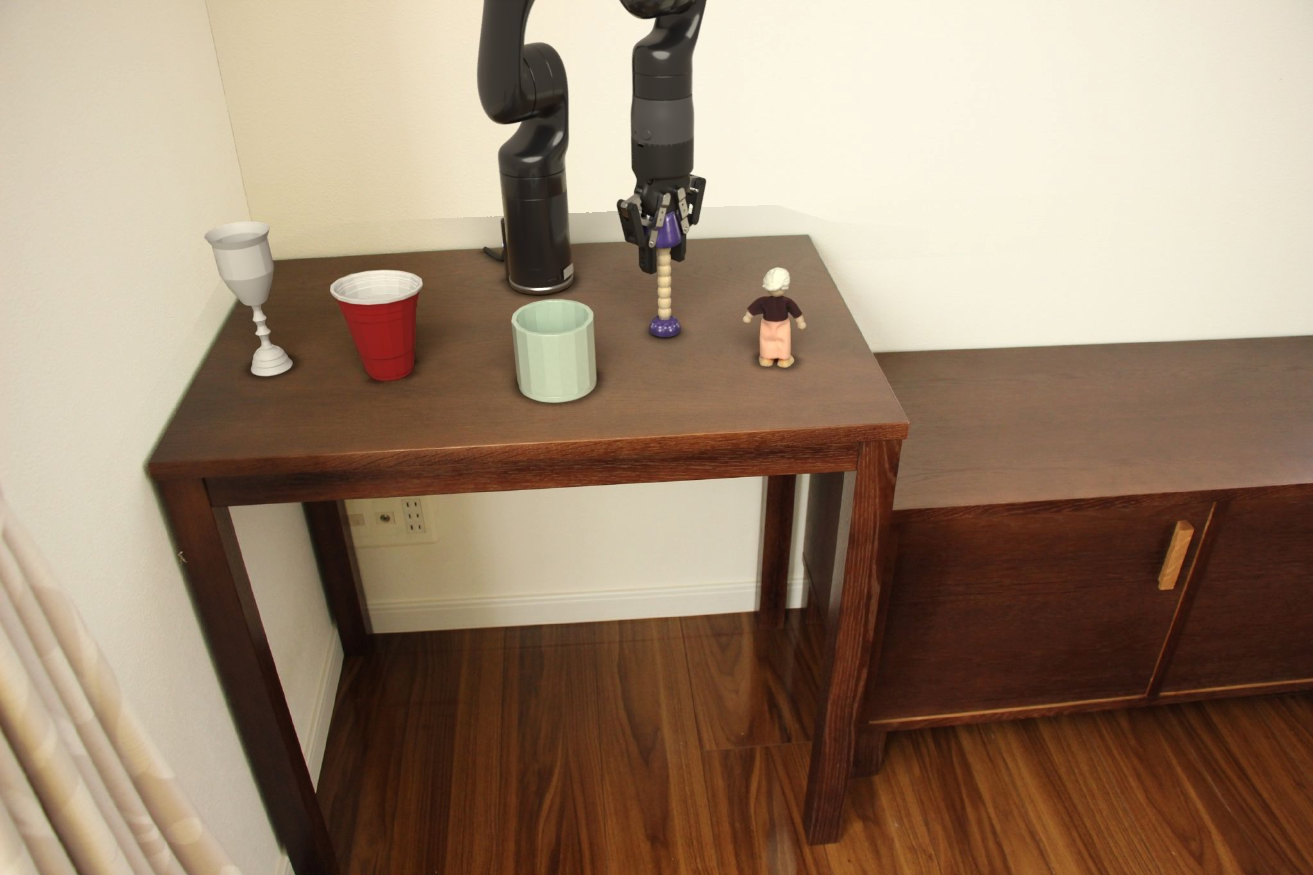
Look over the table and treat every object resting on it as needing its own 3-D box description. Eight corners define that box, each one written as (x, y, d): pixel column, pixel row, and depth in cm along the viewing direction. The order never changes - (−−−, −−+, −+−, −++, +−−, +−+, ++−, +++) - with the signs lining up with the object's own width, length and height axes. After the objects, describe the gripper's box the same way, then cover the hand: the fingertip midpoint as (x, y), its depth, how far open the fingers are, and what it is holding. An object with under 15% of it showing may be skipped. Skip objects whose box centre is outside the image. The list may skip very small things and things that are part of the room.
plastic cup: (451, 356, 127) (438, 269, 121) (406, 396, 119) (391, 306, 112) (378, 343, 130) (362, 259, 124) (330, 383, 122) (310, 294, 115)
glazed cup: (502, 383, 121) (495, 317, 116) (561, 356, 127) (556, 292, 122) (554, 411, 116) (548, 343, 111) (612, 381, 121) (610, 315, 116)
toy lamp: (676, 340, 129) (678, 218, 120) (642, 337, 130) (640, 215, 121) (683, 324, 133) (685, 204, 124) (649, 321, 134) (648, 202, 125)
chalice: (245, 384, 122) (207, 247, 112) (237, 361, 127) (200, 228, 117) (306, 370, 125) (274, 235, 115) (296, 348, 130) (264, 217, 120)
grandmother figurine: (800, 354, 127) (807, 262, 120) (803, 368, 124) (811, 275, 117) (740, 354, 127) (744, 262, 120) (742, 369, 124) (746, 275, 117)
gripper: (680, 113, 123) (679, 242, 133) (596, 139, 115) (602, 274, 124) (725, 125, 119) (721, 257, 128) (642, 152, 110) (644, 292, 120)
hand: (662, 265), depth 126 cm, fingers closed on toy lamp, 4 cm apart
